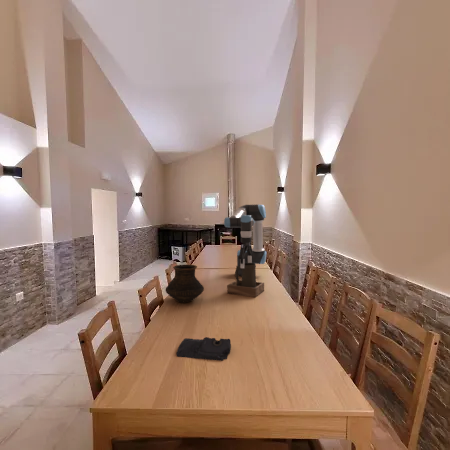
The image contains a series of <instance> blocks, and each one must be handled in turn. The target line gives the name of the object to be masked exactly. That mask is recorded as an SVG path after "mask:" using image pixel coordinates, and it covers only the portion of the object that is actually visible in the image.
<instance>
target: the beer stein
mask: <svg viewBox="0 0 450 450" xmlns="http://www.w3.org/2000/svg"><path fill="white" fill-rule="evenodd" d="M235 266H236V267H235V272H234V276H235V279H236V280H237V286H243V287H251V288H255V287H256V282H257V275H256V273H257V272H256V271H257V270H256V268H257V264H255V263H244V268H240V266H237V265H235ZM239 269H241V270H242V276H241V280H242V283H240V281H239V280H240V278H239V277H240V276H238V270H239ZM236 280H235V281H236Z"/></svg>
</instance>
